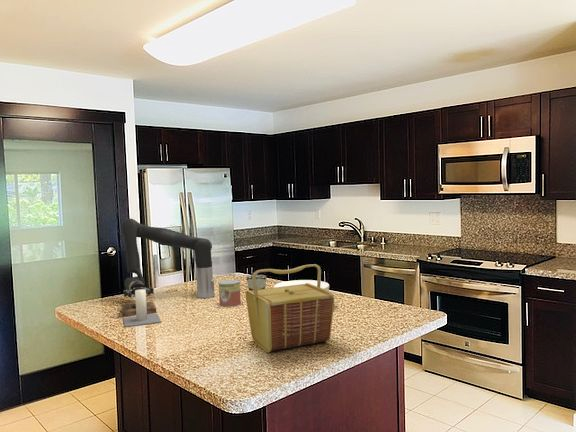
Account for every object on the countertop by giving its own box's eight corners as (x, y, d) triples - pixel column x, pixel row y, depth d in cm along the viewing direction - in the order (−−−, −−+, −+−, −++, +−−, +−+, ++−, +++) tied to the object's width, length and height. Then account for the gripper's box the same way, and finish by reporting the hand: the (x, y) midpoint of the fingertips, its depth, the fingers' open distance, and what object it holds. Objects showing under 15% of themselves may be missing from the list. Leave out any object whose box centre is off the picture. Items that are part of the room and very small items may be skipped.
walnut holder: (153, 305, 254) (152, 301, 254) (156, 312, 240) (156, 307, 239) (121, 309, 249) (121, 304, 248) (123, 316, 234) (122, 311, 234)
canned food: (215, 306, 249) (214, 283, 249) (226, 301, 260) (225, 279, 259) (234, 307, 245) (233, 284, 245) (244, 302, 256) (243, 280, 255)
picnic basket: (267, 359, 169) (264, 275, 167) (244, 339, 193) (241, 265, 191) (338, 345, 181) (336, 267, 179) (308, 328, 204) (306, 259, 203)
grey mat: (157, 314, 236) (157, 313, 236) (161, 322, 221) (161, 321, 221) (123, 318, 230) (123, 317, 230) (125, 327, 215) (125, 326, 215)
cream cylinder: (146, 317, 229) (145, 288, 228) (147, 320, 224) (146, 290, 223) (136, 318, 227) (134, 289, 226) (136, 321, 222) (135, 291, 222)
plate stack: (290, 318, 222) (289, 294, 221) (265, 306, 247) (264, 284, 246) (340, 309, 235) (339, 286, 234) (312, 298, 260) (311, 277, 259)
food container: (268, 291, 282) (268, 274, 281) (267, 293, 276) (266, 276, 275) (248, 291, 283) (247, 274, 282) (246, 293, 277) (245, 276, 276)
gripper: (122, 282, 245) (123, 288, 230) (150, 280, 250) (154, 285, 235) (123, 297, 245) (124, 303, 230) (151, 294, 250) (155, 300, 235)
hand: (139, 294), depth 233 cm, fingers open, 8 cm apart
